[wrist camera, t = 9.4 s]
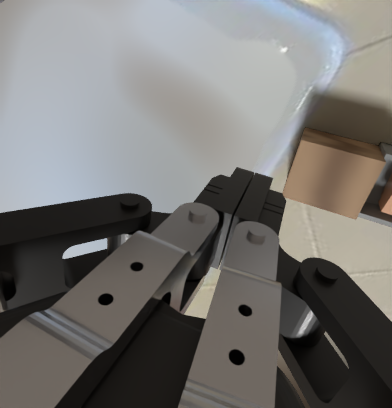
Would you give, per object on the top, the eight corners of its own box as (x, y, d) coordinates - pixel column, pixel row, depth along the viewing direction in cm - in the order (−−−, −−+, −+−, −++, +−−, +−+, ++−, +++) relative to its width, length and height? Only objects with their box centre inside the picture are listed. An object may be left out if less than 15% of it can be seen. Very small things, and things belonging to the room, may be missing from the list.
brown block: (287, 178, 43) (281, 196, 38) (304, 127, 39) (301, 139, 34) (352, 198, 41) (355, 219, 36) (378, 146, 37) (386, 162, 32)
